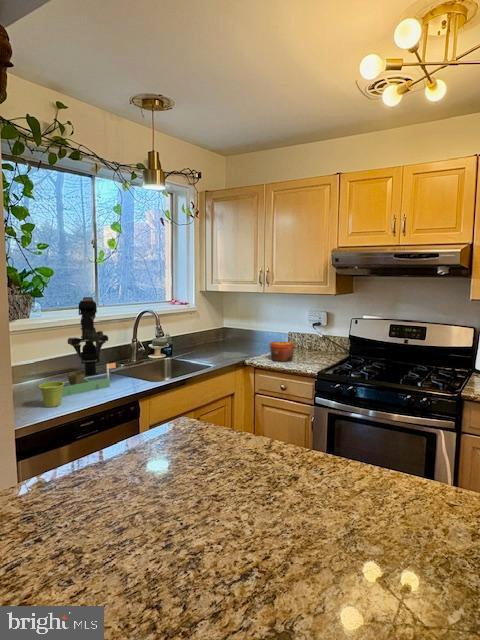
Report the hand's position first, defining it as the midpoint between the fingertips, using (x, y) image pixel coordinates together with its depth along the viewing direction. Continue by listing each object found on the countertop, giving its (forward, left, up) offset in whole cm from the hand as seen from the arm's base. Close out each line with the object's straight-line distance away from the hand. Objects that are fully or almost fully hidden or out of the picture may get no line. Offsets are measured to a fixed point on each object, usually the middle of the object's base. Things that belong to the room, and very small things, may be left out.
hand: (88, 356), depth 208 cm
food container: (+37, +107, -12) cm, 114 cm away
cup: (+12, -12, -12) cm, 21 cm away
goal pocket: (+13, -10, -12) cm, 20 cm away
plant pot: (+28, -29, -12) cm, 42 cm away
